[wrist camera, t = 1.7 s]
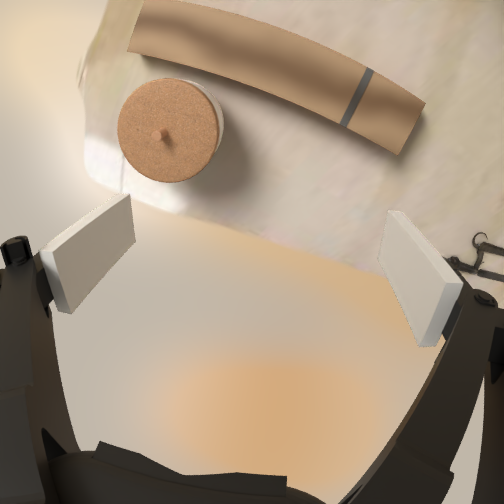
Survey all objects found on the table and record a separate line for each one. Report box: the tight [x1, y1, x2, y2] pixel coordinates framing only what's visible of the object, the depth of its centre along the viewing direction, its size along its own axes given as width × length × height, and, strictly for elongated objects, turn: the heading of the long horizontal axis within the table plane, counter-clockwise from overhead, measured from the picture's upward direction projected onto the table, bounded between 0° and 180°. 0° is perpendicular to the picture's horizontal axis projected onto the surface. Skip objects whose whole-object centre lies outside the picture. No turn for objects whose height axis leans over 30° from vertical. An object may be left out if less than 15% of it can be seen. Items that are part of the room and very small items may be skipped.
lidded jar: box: [118, 78, 224, 183], centre depth 29 cm, size 11×11×9 cm
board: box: [127, 0, 426, 156], centre depth 27 cm, size 7×32×3 cm, turn 69°
